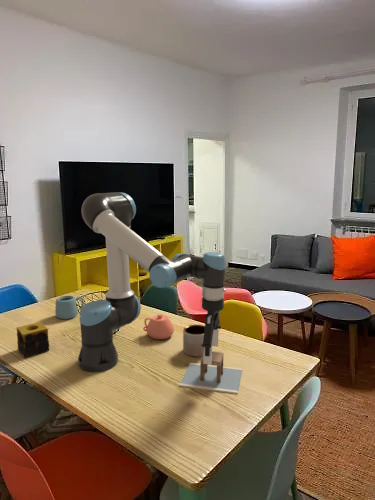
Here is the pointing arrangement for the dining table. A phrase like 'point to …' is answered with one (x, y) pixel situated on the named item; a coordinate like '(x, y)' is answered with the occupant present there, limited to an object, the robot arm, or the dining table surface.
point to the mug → (67, 307)
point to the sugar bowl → (159, 327)
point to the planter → (193, 340)
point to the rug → (212, 378)
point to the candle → (32, 339)
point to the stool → (216, 360)
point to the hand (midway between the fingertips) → (211, 354)
